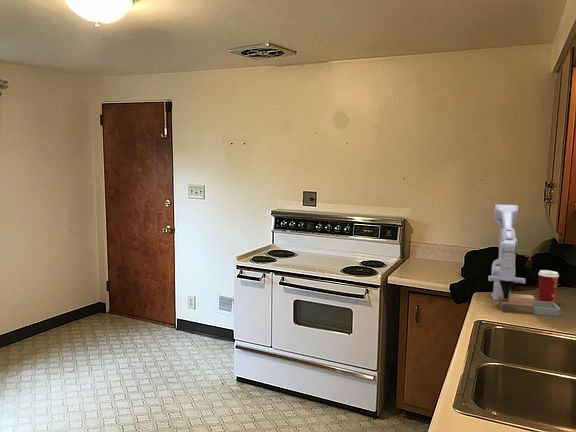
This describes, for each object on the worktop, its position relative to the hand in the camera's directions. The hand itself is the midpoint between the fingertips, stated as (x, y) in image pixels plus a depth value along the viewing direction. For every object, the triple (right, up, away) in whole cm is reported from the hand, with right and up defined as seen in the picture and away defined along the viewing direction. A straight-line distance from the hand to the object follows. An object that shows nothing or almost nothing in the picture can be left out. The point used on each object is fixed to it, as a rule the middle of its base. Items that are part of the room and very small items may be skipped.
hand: (505, 298), depth 212 cm
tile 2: (+8, -1, -2) cm, 9 cm away
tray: (+15, -5, -3) cm, 16 cm away
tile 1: (+3, -1, -1) cm, 4 cm away
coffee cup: (+21, -4, +7) cm, 23 cm away
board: (+4, -5, -1) cm, 6 cm away
